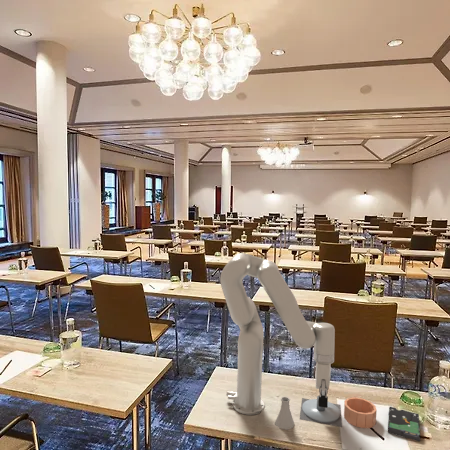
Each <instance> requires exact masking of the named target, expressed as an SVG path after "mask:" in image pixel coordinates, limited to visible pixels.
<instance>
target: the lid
mask: <svg viewBox="0 0 450 450" xmlns="http://www.w3.org/2000/svg"><path fill="white" fill-rule="evenodd" d="M332 403H333V402H331V401H328V407H327V408H325V407H319V395H317V396H316V398H313V399H310V400H307V401H305V402H304V403H303V405H302V411H303V413H304V414H305V415H306V416H307V417H308V418H310V419H312V420H315V421H318V422H323V423H331V422H335V421H337V420H338V419H339V417H340V411H339V409H338V407H337V406H335V405H334V404H335V403H333V404H332Z"/></svg>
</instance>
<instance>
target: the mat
mask: <svg viewBox="0 0 450 450" xmlns="http://www.w3.org/2000/svg"><path fill="white" fill-rule="evenodd" d="M307 400H311V399H310V398H309V399H308V398H303V397H302V398H301V404H300V405H301V406H300V412H299V413H300V414H299V420H303V421H307V422H308V421H309V422H312V423H317V424H324V425H328V426H335V427H340V428H343V422H342V419H343V418H342V409H341V408H342V406H341V404H340V403H339V404H338V403H334V402H331V403H332V404H334V405H335V406H337V407H338V409H339V411H340V417H339V419H338V420H337V421H335V422H331V423H323V422H318V421H315V420H312V419H310V418H308V417H307V416H306V415H305V414H304V413H303V411H302V405H303V403H304V402H305V401H307Z"/></svg>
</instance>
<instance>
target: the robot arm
mask: <svg viewBox="0 0 450 450" xmlns="http://www.w3.org/2000/svg"><path fill="white" fill-rule="evenodd" d="M246 276H249V277H252V278H256V279H258V281H259V283H260V285H261V286H262V288H263V290H264V291H265V293H266V295H267V296H268V298H269V299H270V301H271V303H272V304H273V306H274V307H275V309H276V311H277V314H278V315H279V317H280V319H281V320H282V323H283V324H284V326H285V328H286V329H287V331H288V333H289V334H290V336H291V337H292V339H293V341H294V342H295V344H296V345H297V346H298V347H300V348H302V349H310V348H312V347H313V361H314V362H315V363H316V364H315V389H316V390H318V392H319V395H318V396H319V407H325V408H327V407H328V402H329V401H328V400H329V398H328V397H329V396H328V391H329V390H330V383H331V373H332V371H331V369H332V368H331V367H332V366H331V364H333V363H335V339H336V337H335V336H336V335H335V334H336V333H335V332H336V330H335V326H334V325H333V324H331V323H328V322H315V321H310V320H306V318H305V317H304V315H303V313H302V310H301V309H300V306H299V304H298V301H297V298H296V296H295V295H294V293H293V291H292V290H291V288H290V286H289V285H288V284H287V282H286V281H285V279H284V276H282V274H281V272H280V269H279V266H278V265H277V263H275V262H274V261H272V260H269V259H266V258H263V257H258V256H255V255H253V254H249V253H243V252H240V253H239V252H238V253H236V254H235V255H234V256H233V257H231V259H230V260H229V261H228V262H227V263H226V264H225V266H224V267H223V269H222V271H221V273H220V279H219V281H220V286H221V287H220V288H221V290H222V293H223V296H224V299H225V302H226V305H227V309H228V312H229V314H230V317H231V320H232V321H233V323H234V324H235V325H237V326H238V327H239V335H238V339H237V376H236V377H237V379H236V381H237V383H236V390H235V391H233V390H232V391H231V390H227V391H226V395H225V396H226V397H227V399H228V400H232V407H233V409H234V410H235V411H236V412H238V413H240V414H243V415H247V416H253V415H259V414H260V413H261V412H262V411H263V410H264V409H265V406H266V404H265V402H264V400H263V399H262V380H263V378H262V377H263V355H264V354H263V351H264V350H263V349H264V327H263V324H262V321H261V318H260V315H259V312H258V309H257V307H256V304H255V302H254V301H253V299H252V298H251V297H249V296H248V295H247V291H246V288H245V285H244V283H243V280H244V278H245V277H246Z"/></svg>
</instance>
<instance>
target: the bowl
mask: <svg viewBox="0 0 450 450" xmlns="http://www.w3.org/2000/svg"><path fill="white" fill-rule="evenodd" d="M343 419H344V420H345V421H346V422H347V423H348V424H350V425H352V426H354V427H357V428H361V429H371V428H373V427H375V425H377V424H376V423H377V406H376V405H375V404H374V403H373V402H371V401H369V400H367V399H364V398H361V397H355V396H354V397H347V399H345V400H344V406H343Z"/></svg>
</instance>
